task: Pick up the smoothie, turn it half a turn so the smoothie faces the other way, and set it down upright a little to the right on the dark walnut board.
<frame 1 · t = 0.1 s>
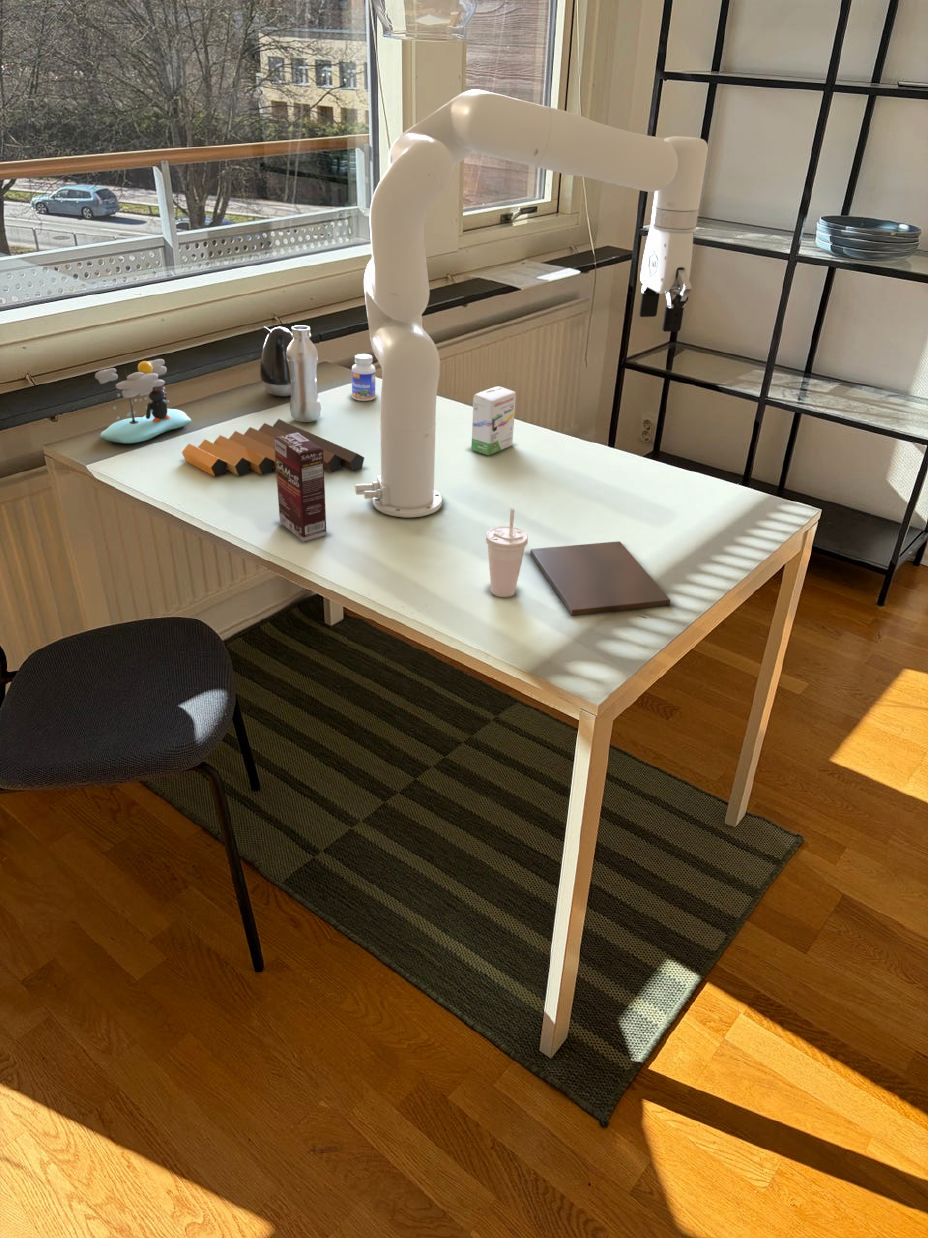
hand: (659, 323, 169), 31 cm above the table, tool pointing down, fingers open, 9 cm apart
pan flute: (274, 465, 187), on the table
walnut board: (596, 578, 153), on the table
penguin figurine: (148, 432, 199), on the table
smoothie: (503, 592, 148), on the table
supplement box: (303, 530, 164), on the table
ink box: (491, 448, 199), on the table
pill bottle: (363, 398, 223), on the table
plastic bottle: (305, 421, 209), on the table
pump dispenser: (283, 393, 224), on the table
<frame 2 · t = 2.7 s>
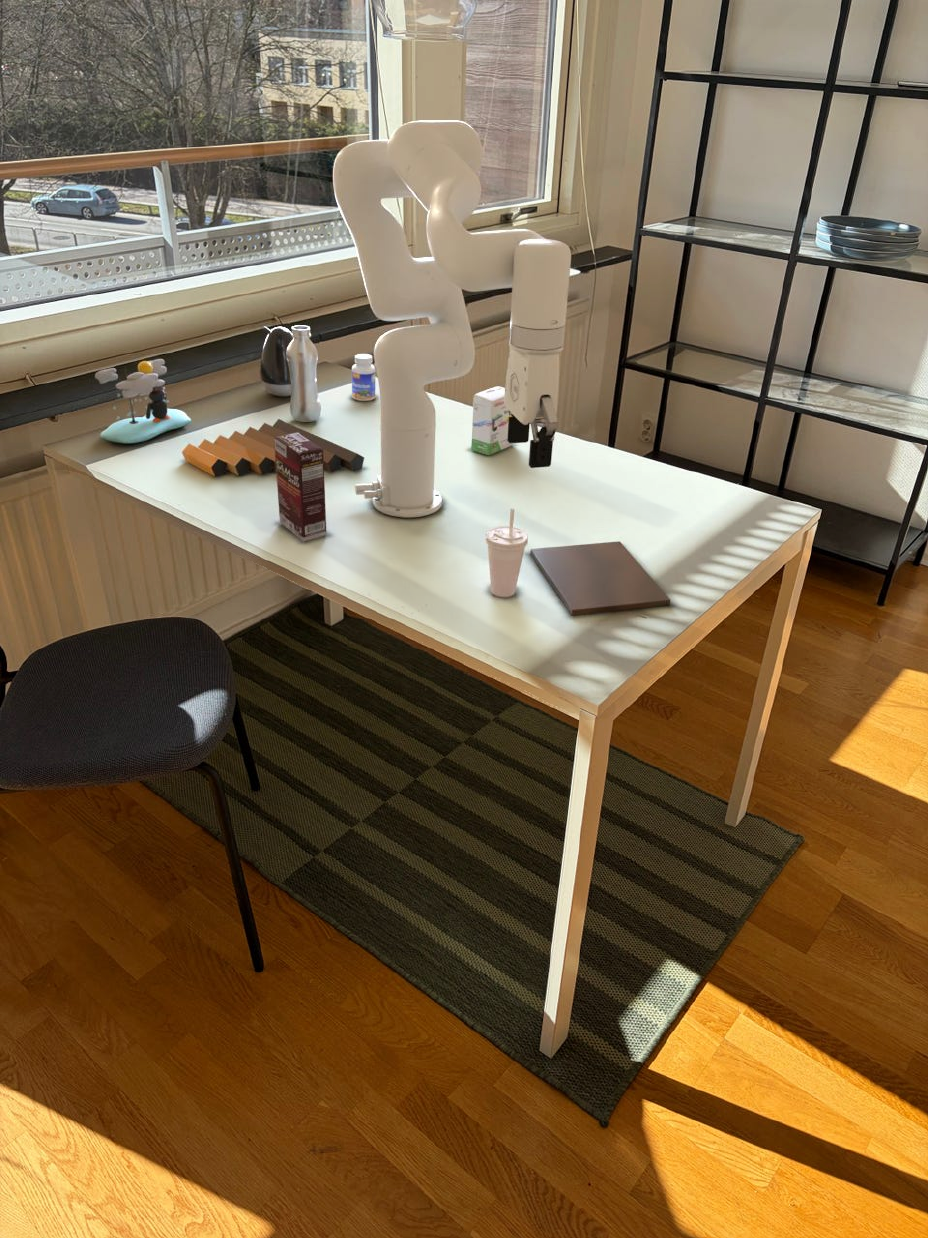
hand: (528, 454, 140), 21 cm above the table, tool pointing down, fingers open, 9 cm apart
nothing on the table moved.
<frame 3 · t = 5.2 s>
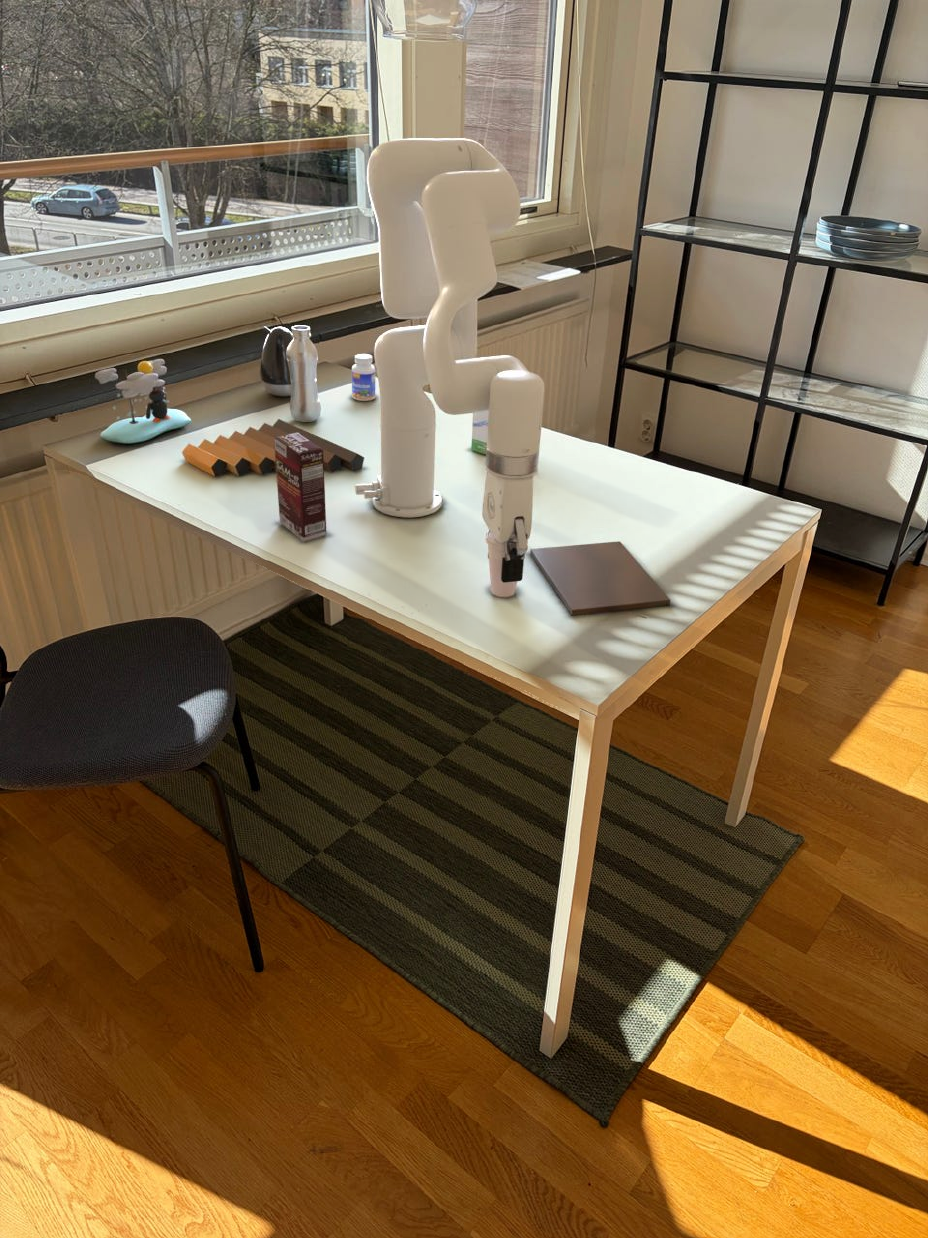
hand: (504, 568, 146), 4 cm above the table, tool pointing down, fingers closed on smoothie, 6 cm apart
smoothie: (503, 592, 148), on the table, touching gripper
everything else where it was.
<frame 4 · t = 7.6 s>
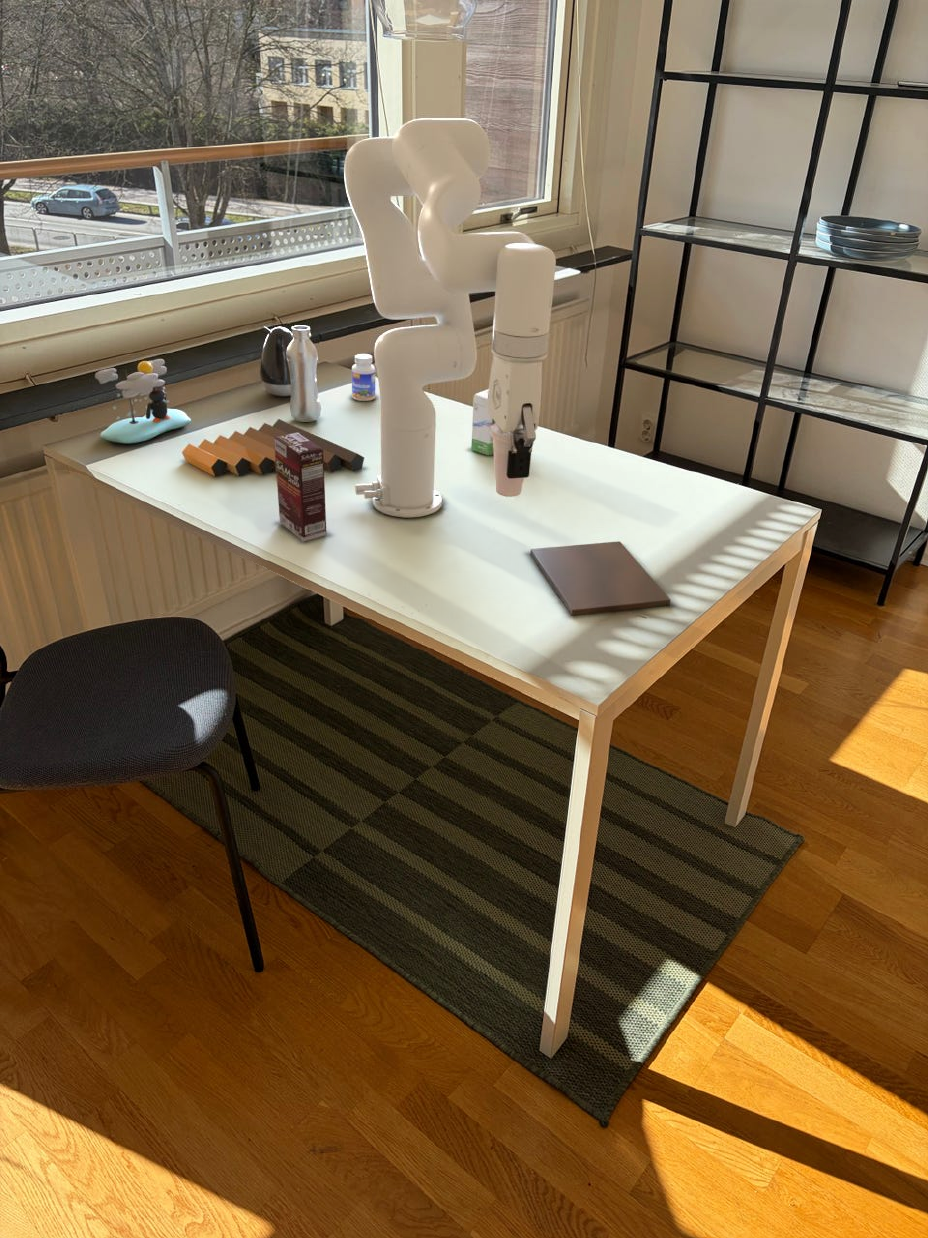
hand: (510, 466, 138), 21 cm above the table, tool pointing down, fingers closed on smoothie, 6 cm apart
smoothie: (508, 492, 140), point 16 cm above the table, touching gripper
everything else where it was.
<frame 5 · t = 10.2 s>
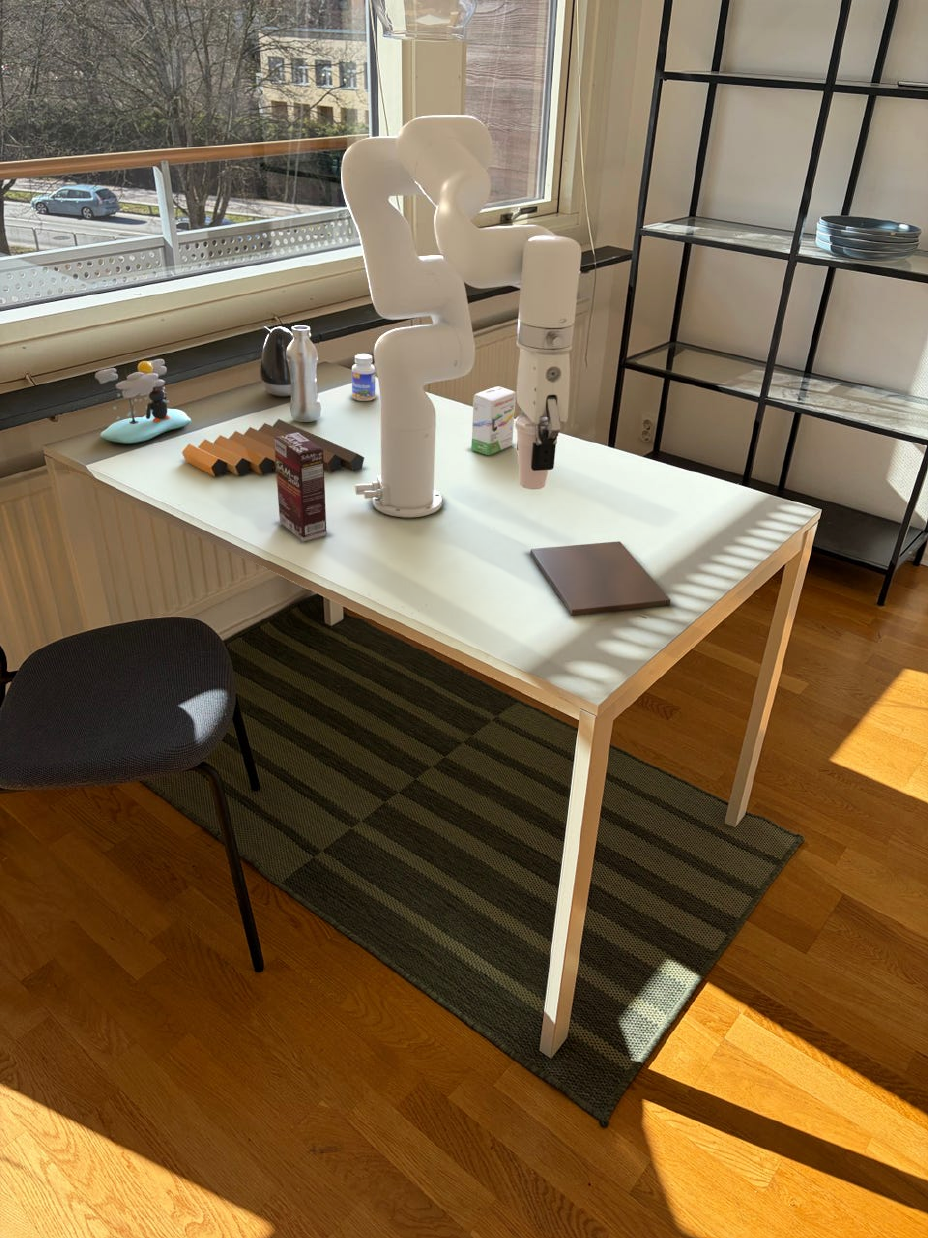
hand: (534, 458, 138), 22 cm above the table, tool pointing down, fingers closed on smoothie, 6 cm apart
smoothie: (532, 485, 140), point 17 cm above the table, touching gripper
everything else where it was.
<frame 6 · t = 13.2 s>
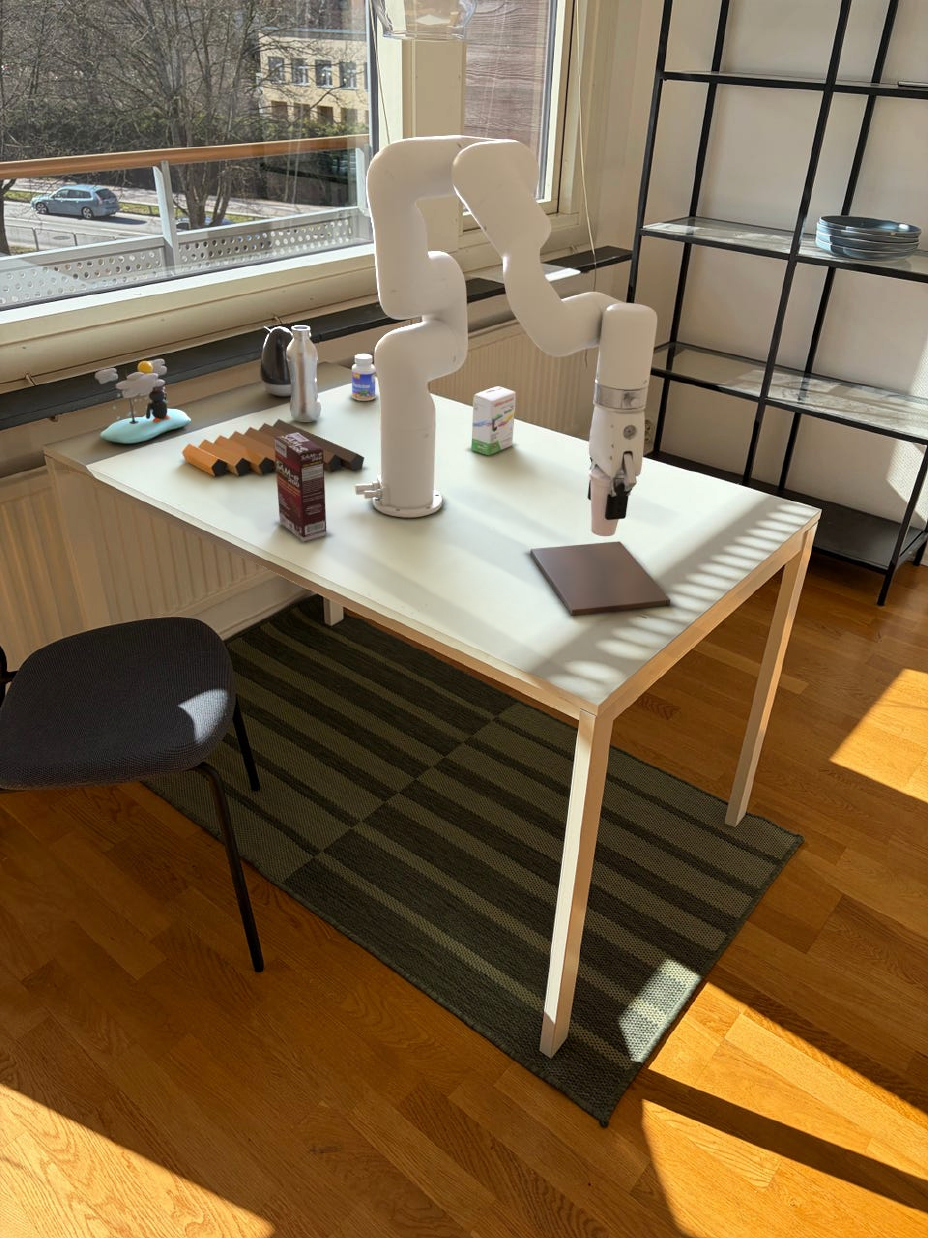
hand: (606, 507, 146), 12 cm above the table, tool pointing down, fingers closed on smoothie, 6 cm apart
smoothie: (603, 532, 149), point 8 cm above the table, touching gripper
everything else where it was.
when the fingers open (5 cm above the table, at t = 15.4 s): smoothie stays where it is, resting on walnut board.
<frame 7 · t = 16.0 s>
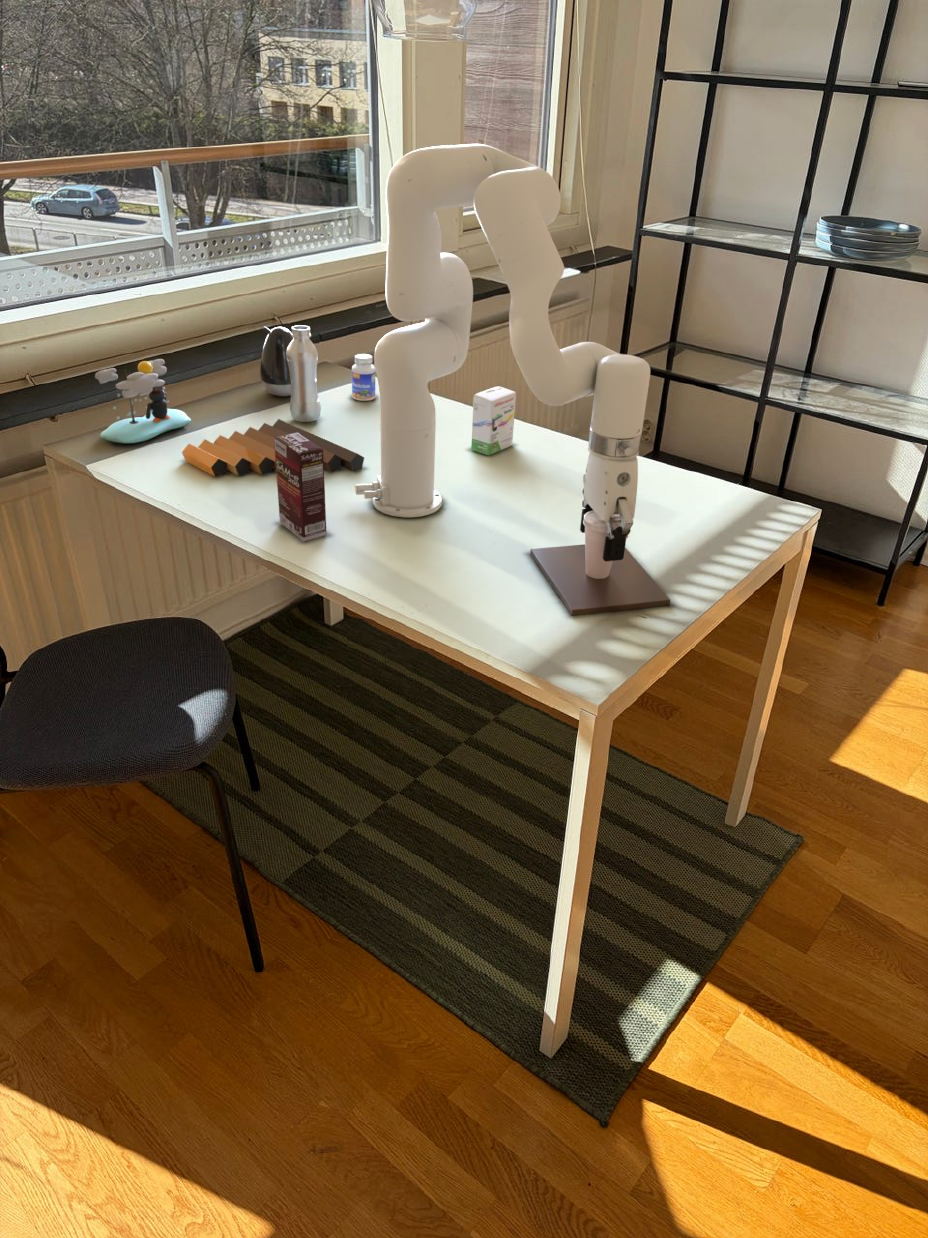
hand: (600, 545, 150), 6 cm above the table, tool pointing down, fingers open, 9 cm apart
smoothie: (597, 574, 153), point 1 cm above the table, touching walnut board
everything else where it was.
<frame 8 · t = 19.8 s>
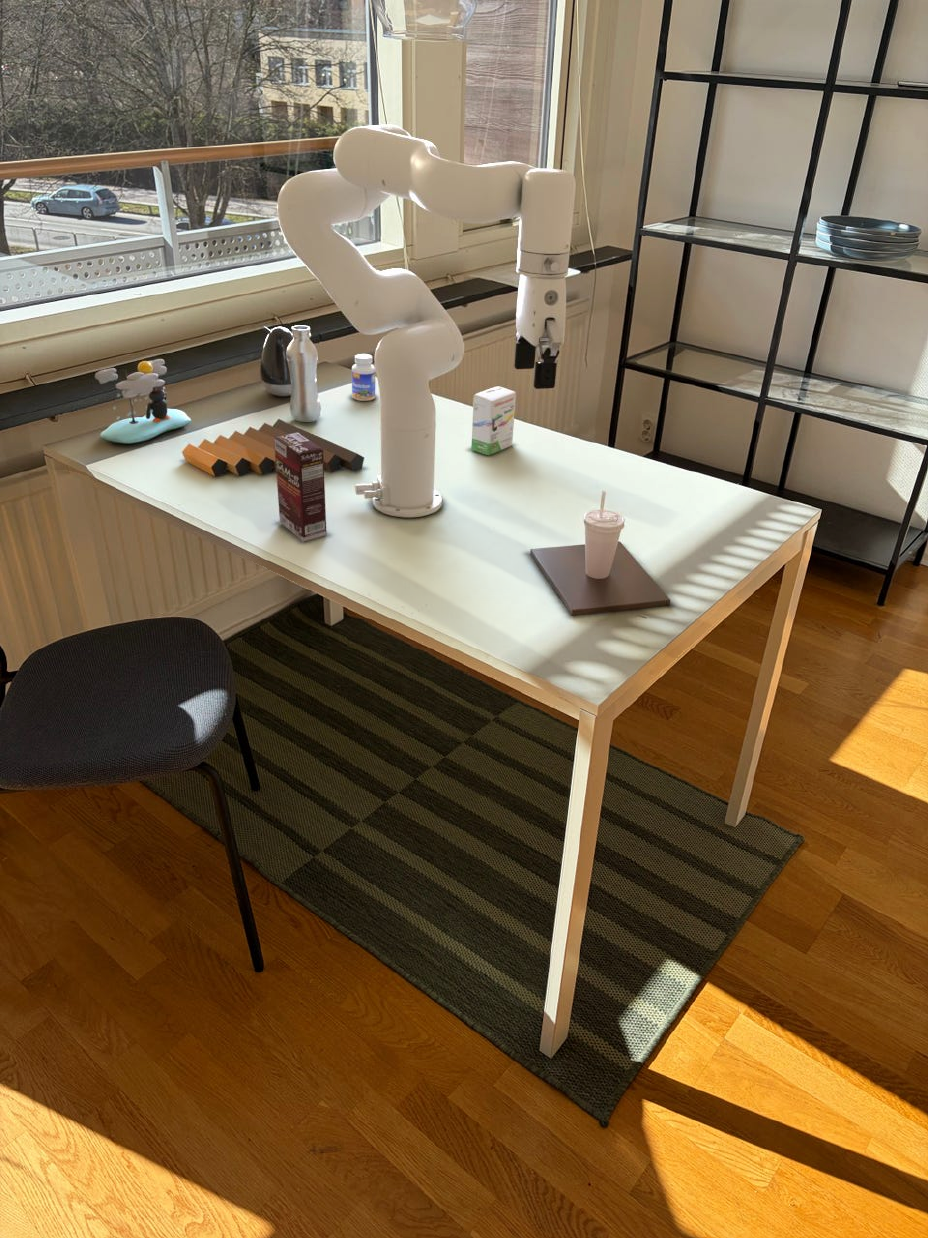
hand: (533, 377, 149), 28 cm above the table, tool pointing down, fingers open, 9 cm apart
nothing on the table moved.
at the end: smoothie inside the target area on the walnut board (0.0 cm from its centre), point 0.8 cm above the walnut board's base; smoothie tilted 0°; the gripper is holding nothing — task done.
